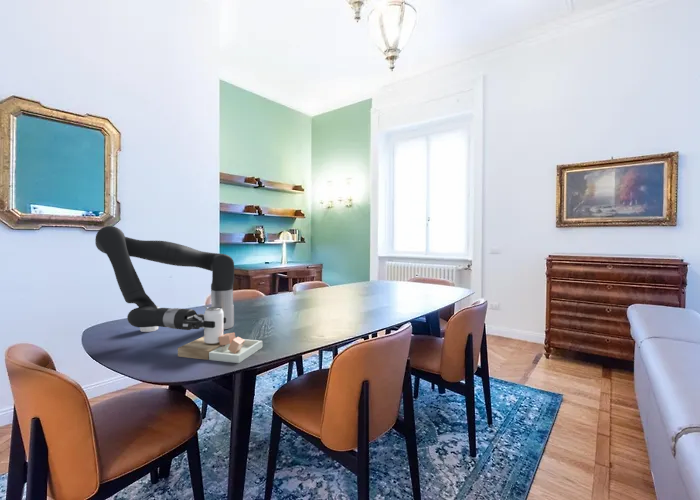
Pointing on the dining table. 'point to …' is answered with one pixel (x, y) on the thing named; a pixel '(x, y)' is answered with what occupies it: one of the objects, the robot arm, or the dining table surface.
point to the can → (218, 317)
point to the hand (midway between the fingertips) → (220, 322)
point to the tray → (228, 356)
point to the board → (197, 349)
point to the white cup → (149, 328)
